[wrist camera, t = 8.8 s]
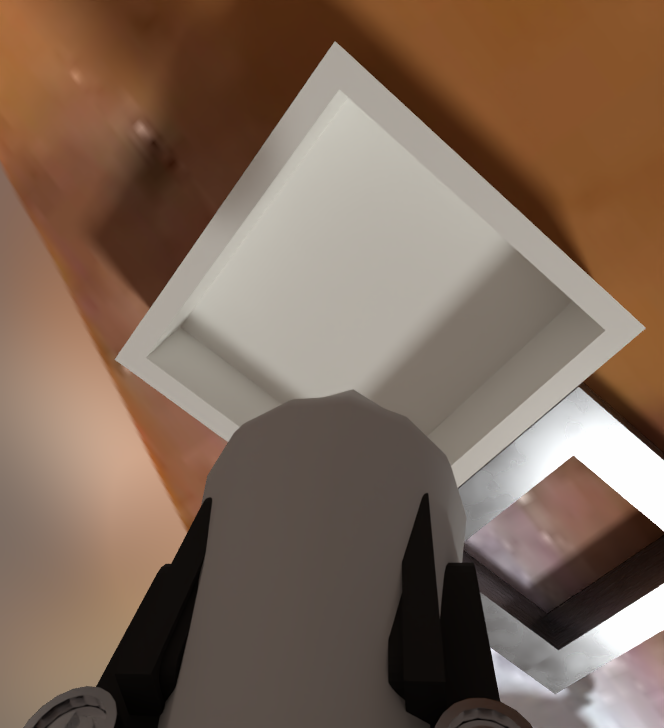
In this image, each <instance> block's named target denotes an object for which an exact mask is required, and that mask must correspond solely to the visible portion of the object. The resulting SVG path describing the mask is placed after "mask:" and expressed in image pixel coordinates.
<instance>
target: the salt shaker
mask: <svg viewBox="0 0 664 728" xmlns="http://www.w3.org/2000/svg"><path fill="white" fill-rule="evenodd" d="M425 493H428V495H429V506H430V517H431V527H432V538H433V549H434V560H435V571H436V582H437V593H438V604H439V614H440V613H441V602H442V590H443V579H444V572H445V568H446V565H447V564H448V563H462V559H463V549H464V539H465V529H466V519H467V517H466V514H465V511H464V507H463V504H462V501H461V497H460V494H459V491H458V487H457V484H456V481H455V477H454V474H453V471H452V468H451V465H450V463H449V461H448V458H447V456H446V455H445V454H444V453H443V452H442V451H441V450H440V449H439V448H438V447H437V446H436V445H435V444H434V443H433V442H432V441H431V440H430V439H429V438H428V437H427V436H426V435H425V434H424V433H423V432H422V431H421V430H420V429H419V428H418V427H417V426H416V425H415V424H414V423H412V422H411V421H410V420H409V419H408V418H407V417H406V416H403V415H400V414H398V413H395V412H392V411H390V410H387V409H385V408H382V407H381V406H379V405H378V404H376V403H374V402H373V401H371V400H370V399H368V398H366V397H365V396H363V395H362V394H360V393H358V392H357V391H355V390H354V389H352V390H348V391H345V392H341V393H337V394H333V395H330V396H326V397H320V398H305V399H292V400H290V401H288V402H286V403H284V404H282V405H280V406H278V407H276V408H274V409H272V410H270V411H268V412H266V413H264V414H262V415H260V416H258V417H256V418H254V419H252V420H250V421H248V422H246V423H244V424H243V425H242V426H241V427H239V428H238V429H237V430H236V431H235V432H234V433H233V435H232V437H231V438H230V440H229V442H228V443H227V445H226V447H225V448H224V450H223V451H222V453H221V455H220V456H219V458H218V460H217V461H216V463H215V464H214V466H213V468H212V469H211V471H210V473H209V474H208V476H207V480H206V485H205V490H204V495H203V500H202V504H203V502H204V500H205V499H206V498H208V497H211V498H212V507H211V515H210V523H209V531H208V539H207V547H206V553H205V557H204V561H203V565H202V568H201V571H200V576H199V584H198V591H197V596H196V601H195V605H194V610H193V615H192V620H191V625H190V629H189V633H188V638H187V642H186V646H185V650H184V654H183V658H182V663H181V667H180V671H179V675H178V679H177V683H176V687H175V689H174V691H173V692H172V693H171V695H170V696H169V697H168V699H167V700H166V702H165V706H164V710H163V713H162V714H161V715H160V718H159V724H158V728H430V724H428V723H426V722H424V721H422V720H421V719H419V718H417V717H415V716H413V715H411V714H410V713H408V712H406V706H405V700H404V699H403V698H401V697H400V696H399V695H398V694H397V693H396V692H395V691H394V690H393V689H392V688H391V686H390V684H389V683H388V639H389V636H390V632H391V629H392V625H393V622H394V618H395V615H396V611H397V608H398V605H399V601H400V598H401V594H402V560H403V557H404V554H405V551H406V547H407V544H408V541H409V538H410V534H411V531H412V528H413V525H414V522H415V518H416V515H417V512H418V509H419V505H420V502H421V499H422V496H423V495H424V494H425ZM201 506H202V505H201Z"/></svg>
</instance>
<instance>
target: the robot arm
mask: <svg viewBox="0 0 664 728" xmlns="http://www.w3.org/2000/svg"><path fill="white" fill-rule="evenodd" d="M211 507H212V498H211V497H208V498H206V499H205V500H204V502H203V504H202V506H201V508H200V510H199V511H198V513H197V515H196V517H195V519H194V521H193V523H192V525H191V527H190V529H189V531H188V533H187V535H186V537H185V539H184V540H183V542H182V544H181V546H180V548H179V550H178V552H177V554H176V556H175V558H174V560H173V562H172V564H165V565H164V566H162V567H161V569H160V570H159V572H158V573H157V575H156V577H155V578H154V580H153V582H152V584H151V586H150V588H149V590H148V591H147V593H146V595H145V597H144V599H143V601H142V603H141V604H140V606H139V608H138V610H137V612H136V614H135V616H134V617H133V619H132V621H131V623H130V625H129V627H128V628H127V630H126V632H125V634H124V636H123V638H122V640H121V641H120V643H119V645H118V647H117V649H116V651H115V653H114V654H113V656H112V658H111V660H110V662H109V664H108V665H107V667H106V669H105V671H104V673H103V675H102V677H101V679H100V681H99V682H98V684H97V686H96V687H89V686H86V687H80V688H75V689H72V690H70V691H67V692H65V693H63V694H60V695H59V696H57V697H55V698H54V699H52V700H51V701H49V702H48V703H46V704H45V705H43V706H42V707H41V708H40V709H39V710H38V711H37V712H36V713H35V714H34V715H33V716H32V717H31V718H30V719H29V720H28V722H27V723H26V725H25V726H24V728H158V724H159V718H160V715H161V714H162V713H163V710H164V706H165V702H166V700H167V699H168V697H169V696H170V695H171V693H172V692H173V691H174V689H175V687H176V683H177V679H178V675H179V671H180V667H181V663H182V658H183V654H184V650H185V646H186V642H187V638H188V633H189V629H190V625H191V620H192V615H193V610H194V605H195V601H196V596H197V591H198V584H199V576H200V571H201V568H202V565H203V561H204V557H205V553H206V547H207V539H208V531H209V523H210V515H211ZM388 683H389V684H390V686H391V688H392V689H393V690H394V691H395V692H396V693H397V694H398V695H399V696H400V697H401V698H403V699H404V700H405V706H406V712H408V713H410V714H411V715H413V716H415V717H417V718H419V719H421V720H422V721H424V722H426V723H428V724H430V728H533V727H532V726H531V724H530V723H529V722H528V721H527V720H526V719H525V718H524V717H523V716H522V715H521V714H519V713H518V712H517V711H516V710H514V709H513V708H511V707H509V706H507V705H505V704H504V703H502V702H500V698H499V693H498V687H497V682H496V677H495V671H494V666H493V660H492V655H491V649H490V644H489V639H488V633H487V628H486V622H485V617H484V612H483V606H482V601H481V595H480V590H479V584H478V579H477V574H476V569H475V565H474V562H471V563H448V564H447V565H446V568H445V572H444V579H443V590H442V602H441V613H440V614H439V604H438V593H437V582H436V571H435V560H434V549H433V538H432V527H431V517H430V506H429V495H428V493H425V494H424V495H423V496H422V499H421V502H420V505H419V509H418V512H417V515H416V518H415V522H414V525H413V528H412V531H411V534H410V538H409V541H408V544H407V547H406V551H405V554H404V557H403V560H402V594H401V598H400V601H399V605H398V608H397V611H396V615H395V618H394V622H393V625H392V629H391V632H390V636H389V639H388Z"/></svg>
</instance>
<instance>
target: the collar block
mask: <svg viewBox="0 0 664 728" xmlns="http://www.w3.org/2000/svg"><path fill="white" fill-rule="evenodd" d="M573 455H574V456H575V457H576V458H578V459H579V460H580V461H581V462H582V463H584V464H585V465H586V466H587V467H588V468H589V469H591V470H592V471H593V472H594V473H595V474H597V475H598V476H599V477H600V478H601V479H603V480H604V481H605V482H606V483H607V484H609V485H610V486H611V487H612V488H613V489H615V490H616V491H617V492H618V493H619V494H621V495H622V496H623V497H624V498H625V499H627V500H628V501H629V502H630V503H631V504H633V505H634V506H635V507H636V508H637V509H638V510H640V511H641V512H642V513H643V514H644V515H646V516H647V517H648V518H649V519H650V520H652V521H653V522H654V523H655V524H656V525H658V526H659V527H660V528H661V529H662V530H664V453H663V452H662V451H661V450H660V449H659V448H658V447H656V446H655V445H654V444H653V443H652V442H651V441H650V440H648V439H647V438H646V437H645V436H644V435H643V434H642V433H640V432H639V431H638V430H637V429H636V428H635V427H634V426H632V425H631V424H630V423H629V422H628V421H627V420H626V419H624V418H623V417H622V416H621V415H620V414H619V413H618V412H616V411H615V410H614V409H613V408H612V407H611V406H610V405H608V404H607V403H606V402H605V401H604V400H603V399H601V398H600V397H599V396H598V395H597V394H596V393H595V392H593V391H592V390H591V389H590V388H589V387H588V386H587V385H585V384H584V383H583V382H582V383H581V384H579V385H578V386H577V387H576V388H575V389H574V390H572V391H571V392H570V393H569V394H568V395H566V396H565V397H564V398H563V399H562V400H561V401H559V402H558V403H557V404H556V405H555V406H554V407H552V408H551V409H550V410H549V411H548V412H546V413H545V414H544V415H543V416H542V417H541V418H539V419H538V420H537V421H536V422H535V423H533V424H532V425H531V426H530V427H529V428H528V429H526V430H525V431H524V432H523V433H522V434H521V435H519V436H518V437H517V438H516V439H515V440H513V441H512V442H511V443H510V444H509V445H508V446H506V447H505V448H504V449H503V450H502V451H501V452H499V453H498V454H497V455H496V456H495V457H493V458H492V459H491V460H490V461H489V462H488V463H486V464H485V465H484V466H483V467H482V468H481V469H479V470H478V471H477V472H476V473H475V474H473V475H472V476H471V477H470V478H469V479H468V480H466V481H465V482H464V483H463V484H462V485H460V486H459V487H458V491H459V494H460V497H461V501H462V504H463V507H464V511H465V514H466V517H467V519H466V529H465V539H464V542H465V541H466V540H467V539H468V538H470V537H471V536H472V535H473V534H475V533H476V532H477V531H478V530H480V529H481V528H482V527H483V526H485V525H486V524H487V523H488V522H490V521H491V520H492V519H494V518H495V517H496V516H497V515H499V514H500V513H501V512H502V511H504V510H505V509H506V508H507V507H509V506H510V505H511V504H512V503H514V502H515V501H516V500H517V499H519V498H520V497H521V496H523V495H524V494H525V493H526V492H528V491H529V490H530V489H531V488H533V487H534V486H535V485H536V484H538V483H539V482H540V481H541V480H543V479H544V478H545V477H546V476H548V475H549V474H550V473H552V472H553V471H554V470H555V469H557V468H558V467H559V466H560V465H562V464H563V463H564V462H565V461H567V460H568V459H569V458H570V457H572V456H573ZM471 562H474V565H475V569H476V574H477V579H478V584H479V590H480V595H481V601H482V606H483V612H484V617H485V622H486V628H487V633H488V639H489V644H490V647H491V648H492V649H494V650H495V651H496V652H498V653H499V654H501V655H502V656H503V657H505V658H506V659H507V660H509V661H510V662H512V663H513V664H514V665H516V666H517V667H518V668H520V669H521V670H523V671H524V672H525V673H527V674H528V675H530V676H531V677H532V678H534V679H535V680H536V681H538V682H539V683H541V684H542V685H543V686H545V687H546V688H547V689H549V690H550V691H552V692H553V693H554V694H556V693H558V692H560V691H561V690H563V689H565V688H566V687H568V686H570V685H571V684H573V683H575V682H576V681H578V680H580V679H581V678H583V677H585V676H586V675H588V674H590V673H592V672H593V671H595V670H597V669H598V668H600V667H602V666H603V665H605V664H607V663H608V662H610V661H612V660H613V659H615V658H617V657H618V656H620V655H622V654H623V653H625V652H627V651H628V650H630V649H632V648H633V647H635V646H637V645H638V644H640V643H642V642H643V641H645V640H647V639H649V638H650V637H652V636H654V635H655V634H657V633H659V632H660V631H662V630H664V536H663V537H661V538H660V539H658V540H657V541H655V542H654V543H652V544H651V545H649V546H648V547H646V548H645V549H643V550H642V551H640V552H639V553H637V554H636V555H634V556H633V557H631V558H630V559H628V560H627V561H625V562H624V563H622V564H621V565H619V566H618V567H617V568H615V569H614V570H612V571H611V572H609V573H608V574H606V575H605V576H603V577H602V578H600V579H599V580H597V581H596V582H594V583H593V584H591V585H590V586H588V587H587V588H585V589H584V590H582V591H581V592H579V593H578V594H576V595H575V596H573V597H572V598H570V599H569V600H567V601H566V602H564V603H563V604H561V605H560V606H558V607H557V608H555V609H554V610H552V611H551V612H549V613H548V614H546V613H545V612H544V611H542V610H541V609H540V608H539V607H537V606H536V605H535V604H533V603H532V602H531V601H529V600H528V599H527V598H525V597H524V596H523V595H521V594H520V593H519V592H517V591H516V590H515V589H513V588H512V587H511V586H509V585H508V584H507V583H505V582H504V581H503V580H502V579H500V578H499V577H498V576H496V575H495V574H494V573H492V572H491V571H490V570H488V569H487V568H486V567H484V566H483V565H482V564H480V563H479V562H478V561H476V560H475V559H474V558H472V557H471V556H470V555H468V554H467V553H466V552H465V551H463V559H462V563H471Z"/></svg>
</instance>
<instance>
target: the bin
mask: <svg viewBox="0 0 664 728" xmlns="http://www.w3.org/2000/svg"><path fill="white" fill-rule="evenodd" d="M644 329H645V327H644V326H643V325H642V324H641V323H640V322H639V321H638V320H637V319H635V318H634V317H633V316H632V315H631V314H630V313H629V312H628V311H627V310H626V309H625V308H624V307H622V306H621V305H620V304H619V303H618V302H617V301H616V300H615V299H614V298H613V297H612V296H611V295H609V294H608V293H607V292H606V291H605V290H604V289H603V288H602V287H601V286H600V285H599V284H598V283H596V282H595V281H594V280H593V279H592V278H591V277H590V276H589V275H588V274H587V273H586V272H585V271H583V270H582V269H581V268H580V267H579V266H578V265H577V264H576V263H575V262H574V261H573V260H572V259H570V258H569V257H568V256H567V255H566V254H565V253H564V252H563V251H562V250H561V249H560V248H559V247H557V246H556V245H555V244H554V243H553V242H552V241H551V240H550V239H549V238H548V237H547V236H546V235H544V234H543V233H542V232H541V231H540V230H539V229H538V228H537V227H536V226H535V225H534V224H533V223H532V222H530V221H529V220H528V219H527V218H526V217H525V216H524V215H523V214H522V213H521V212H520V211H519V210H517V209H516V208H515V207H514V206H513V205H512V204H511V203H510V202H509V201H508V200H507V199H506V198H504V197H503V196H502V195H501V194H500V193H499V192H498V191H497V190H496V189H495V188H494V187H493V186H491V185H490V184H489V183H488V182H487V181H486V180H485V179H484V178H483V177H482V176H481V175H480V174H478V173H477V172H476V171H475V170H474V169H473V168H472V167H471V166H470V165H469V164H468V163H467V162H465V161H464V160H463V159H462V158H461V157H460V156H459V155H458V154H457V153H456V152H455V151H454V150H452V149H451V148H450V147H449V146H448V145H447V144H446V143H445V142H444V141H443V140H442V139H441V138H439V137H438V136H437V135H436V134H435V133H434V132H433V131H432V130H431V129H430V128H429V127H428V126H426V125H425V124H424V123H423V122H422V121H421V120H420V119H419V118H418V117H417V116H416V115H415V114H413V113H412V112H411V111H410V110H409V109H408V108H407V107H406V106H405V105H404V104H403V103H402V102H400V101H399V100H398V99H397V98H396V97H395V96H394V95H393V94H392V93H391V92H390V91H389V90H387V89H386V88H385V87H384V86H383V85H382V84H381V83H380V82H379V81H378V80H377V79H376V78H374V77H373V76H372V75H371V74H370V73H369V72H368V71H367V70H366V69H365V68H364V67H363V66H361V65H360V64H359V63H358V62H357V61H356V60H355V59H354V58H353V57H352V56H351V55H350V54H349V53H347V52H346V51H345V50H344V49H343V48H342V47H341V46H340V45H339V44H338V43H337V42H336V41H335V42H334V43H333V45H332V46H331V47H330V49H329V50H328V52H327V53H326V55H325V56H324V58H323V59H322V60H321V62H320V63H319V65H318V66H317V68H316V69H315V71H314V72H313V73H312V75H311V76H310V78H309V79H308V81H307V82H306V84H305V85H304V87H303V88H302V89H301V91H300V92H299V94H298V95H297V97H296V98H295V100H294V101H293V102H292V104H291V105H290V107H289V108H288V110H287V111H286V113H285V114H284V115H283V117H282V118H281V120H280V121H279V123H278V124H277V126H276V127H275V128H274V130H273V131H272V133H271V134H270V136H269V137H268V139H267V140H266V141H265V143H264V144H263V146H262V147H261V149H260V150H259V152H258V153H257V154H256V156H255V157H254V159H253V160H252V162H251V163H250V165H249V166H248V168H247V169H246V170H245V172H244V173H243V175H242V176H241V178H240V179H239V181H238V182H237V183H236V185H235V186H234V188H233V189H232V191H231V192H230V194H229V195H228V196H227V198H226V199H225V201H224V202H223V204H222V205H221V207H220V208H219V209H218V211H217V212H216V214H215V215H214V217H213V218H212V220H211V221H210V222H209V224H208V225H207V227H206V228H205V230H204V231H203V233H202V234H201V236H200V237H199V238H198V240H197V241H196V243H195V244H194V246H193V247H192V249H191V250H190V251H189V253H188V254H187V256H186V257H185V259H184V260H183V262H182V263H181V264H180V266H179V267H178V269H177V270H176V272H175V273H174V275H173V276H172V277H171V279H170V280H169V282H168V283H167V285H166V286H165V288H164V289H163V290H162V292H161V293H160V295H159V296H158V298H157V299H156V301H155V302H154V303H153V305H152V306H151V308H150V309H149V311H148V312H147V314H146V315H145V317H144V318H143V319H142V321H141V322H140V324H139V325H138V327H137V328H136V330H135V331H134V332H133V334H132V335H131V337H130V338H129V340H128V341H127V343H126V344H125V345H124V347H123V348H122V350H121V351H120V353H119V354H118V356H117V357H116V358H115V360H116V361H118V362H119V363H120V364H122V365H123V366H125V367H126V368H127V369H129V370H130V371H131V372H133V373H134V374H136V375H137V376H138V377H140V378H141V379H142V380H144V381H145V382H146V383H148V384H149V385H151V386H152V387H153V388H155V389H156V390H157V391H159V392H160V393H162V394H163V395H164V396H166V397H167V398H168V399H170V400H171V401H173V402H174V403H175V404H177V405H178V406H179V407H181V408H182V409H183V410H185V411H186V412H188V413H189V414H190V415H192V416H193V417H194V418H196V419H197V420H199V421H200V422H201V423H203V424H204V425H205V426H207V427H208V428H210V429H211V430H212V431H214V432H215V433H216V434H218V435H219V436H220V437H222V438H223V439H225V440H226V441H227V442H229V440H230V438H231V437H232V435H233V433H234V432H235V431H236V430H237V429H238V428H239V427H241V426H242V425H243V424H244V423H246V422H248V421H250V420H252V419H254V418H256V417H258V416H260V415H262V414H264V413H266V412H268V411H270V410H272V409H274V408H276V407H278V406H280V405H282V404H284V403H286V402H288V401H290V400H292V399H305V398H320V397H326V396H330V395H333V394H337V393H341V392H345V391H348V390H352V389H354V390H355V391H357V392H358V393H360V394H362V395H363V396H365V397H366V398H368V399H370V400H371V401H373V402H374V403H376V404H378V405H379V406H381V407H382V408H385V409H387V410H390V411H392V412H395V413H398V414H400V415H403V416H406V417H407V418H408V419H409V420H410V421H411V422H412V423H414V424H415V425H416V426H417V427H418V428H419V429H420V430H421V431H422V432H423V433H424V434H425V435H426V436H427V437H428V438H429V439H430V440H431V441H432V442H433V443H434V444H435V445H436V446H437V447H438V448H439V449H440V450H441V451H442V452H443V453H444V454H445V455H446V456H447V458H448V461H449V463H450V465H451V468H452V471H453V474H454V477H455V481H456V484H457V487H459V486H460V485H462V484H463V483H464V482H465V481H466V480H468V479H469V478H470V477H471V476H472V475H473V474H475V473H476V472H477V471H478V470H479V469H481V468H482V467H483V466H484V465H485V464H486V463H488V462H489V461H490V460H491V459H492V458H493V457H495V456H496V455H497V454H498V453H499V452H501V451H502V450H503V449H504V448H505V447H506V446H508V445H509V444H510V443H511V442H512V441H513V440H515V439H516V438H517V437H518V436H519V435H521V434H522V433H523V432H524V431H525V430H526V429H528V428H529V427H530V426H531V425H532V424H533V423H535V422H536V421H537V420H538V419H539V418H541V417H542V416H543V415H544V414H545V413H546V412H548V411H549V410H550V409H551V408H552V407H554V406H555V405H556V404H557V403H558V402H559V401H561V400H562V399H563V398H564V397H565V396H566V395H568V394H569V393H570V392H571V391H572V390H574V389H575V388H576V387H577V386H578V385H579V384H581V383H582V382H583V381H584V380H585V379H586V378H588V377H589V376H590V375H591V374H592V373H594V372H595V371H596V370H597V369H598V368H599V367H601V366H602V365H603V364H604V363H605V362H607V361H608V360H609V359H610V358H611V357H612V356H614V355H615V354H616V353H617V352H618V351H619V350H621V349H622V348H623V347H624V346H625V345H627V344H628V343H629V342H630V341H631V340H632V339H634V338H635V337H636V336H637V335H638V334H639V333H641V332H642V331H643V330H644Z"/></svg>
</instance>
